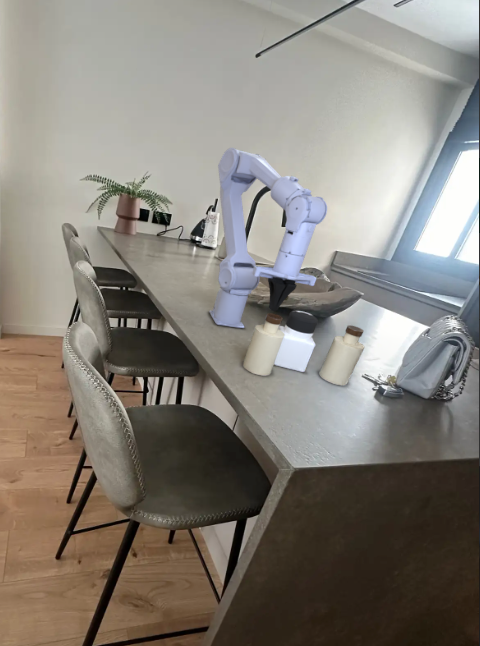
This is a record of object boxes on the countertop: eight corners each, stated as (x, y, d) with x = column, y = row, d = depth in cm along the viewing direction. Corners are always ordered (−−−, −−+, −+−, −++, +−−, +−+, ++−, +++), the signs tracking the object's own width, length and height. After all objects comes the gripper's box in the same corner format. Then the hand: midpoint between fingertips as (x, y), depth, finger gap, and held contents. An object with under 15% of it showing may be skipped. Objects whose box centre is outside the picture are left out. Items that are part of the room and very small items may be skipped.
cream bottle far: (314, 369, 84) (335, 320, 79) (338, 372, 85) (360, 324, 80) (327, 383, 79) (350, 332, 74) (352, 387, 80) (377, 336, 75)
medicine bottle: (304, 373, 82) (325, 323, 77) (272, 365, 83) (290, 315, 77) (299, 359, 88) (318, 312, 83) (269, 351, 89) (286, 305, 84)
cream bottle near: (239, 359, 82) (255, 308, 77) (264, 363, 83) (282, 312, 78) (247, 373, 76) (266, 320, 71) (274, 377, 77) (294, 324, 72)
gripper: (267, 251, 78) (248, 310, 84) (330, 262, 80) (308, 319, 86) (257, 244, 84) (240, 300, 90) (315, 255, 86) (295, 309, 92)
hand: (272, 309), depth 88 cm, fingers closed
